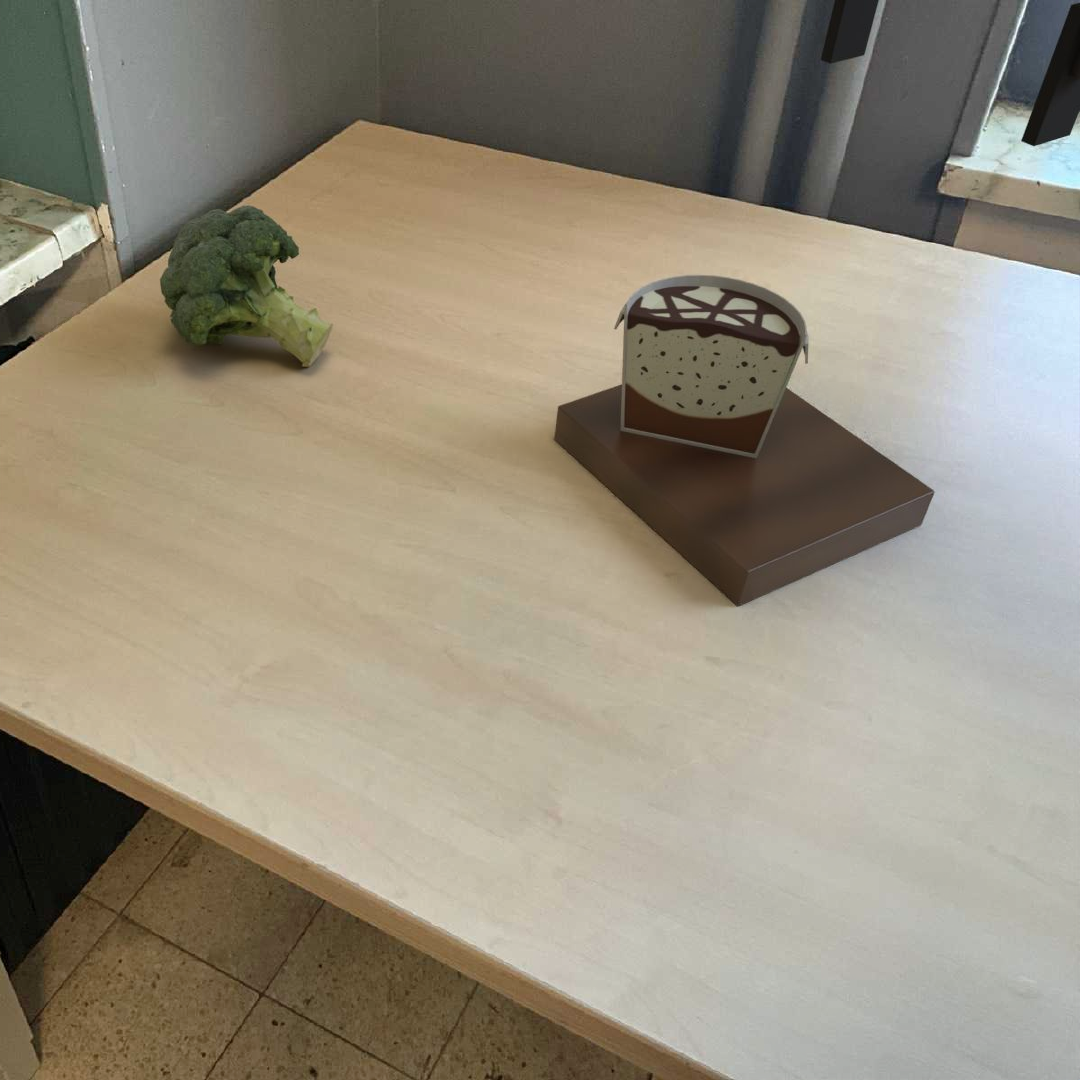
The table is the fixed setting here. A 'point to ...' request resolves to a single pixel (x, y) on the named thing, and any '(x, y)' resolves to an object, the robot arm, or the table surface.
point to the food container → (707, 361)
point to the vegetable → (237, 284)
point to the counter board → (751, 492)
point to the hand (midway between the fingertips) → (936, 96)
